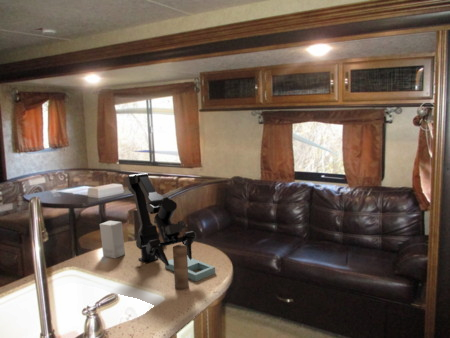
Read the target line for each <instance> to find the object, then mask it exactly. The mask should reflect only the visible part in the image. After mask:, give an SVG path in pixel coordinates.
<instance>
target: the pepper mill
mask: <svg viewBox="0 0 450 338" xmlns="http://www.w3.org/2000/svg"><path fill="white" fill-rule="evenodd" d="M187 256H188V255H187V246H186V245H184V244H176V245H173V246H172V259H173V261H174V271H173V277H174V278H173V279H174V288H175V290H180V291H182V290H183V291H184V290H186V289H189V286H190V285H189V283H190V282H189V281H190V280H189V278H188V262H187Z"/></svg>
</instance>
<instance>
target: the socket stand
mask: <svg viewBox="0 0 450 338" xmlns="http://www.w3.org/2000/svg"><path fill="white" fill-rule="evenodd" d="M167 260H168V259H167ZM187 262H188V280H191V281H194V282H196V283H197V282H198V281H201V280H203V279H205V278H208V277H210V276H212V275H215V274H216V267H215V266H214V265H211V264H208V263H206V262H203V261H201V260H198V259H196V258H193V257H192V259H191V260H190V259H189V257H188V255H187ZM168 263H169V266H167V265H166V264H165V263H164V268H166V269H168V270H170V271H172V272H174V261H173V258H172V259H169V260H168ZM196 270H199V271H197V272H195V271H196Z"/></svg>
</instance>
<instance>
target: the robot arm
mask: <svg viewBox="0 0 450 338" xmlns="http://www.w3.org/2000/svg"><path fill="white" fill-rule="evenodd" d="M125 184H126V186H127V187H128V191H129V192H130V193H131V194H132V195H133V198H134V199H133V200H134V203H135V208H136V212H137V218H138V221H139V229H138V232H137V235H138V236H137V238H136V241H135V244H136V247H137V248H138V249H139V250H140V251H141V252H140V254H141V257H138V260H139V261H141V262H143V263H144V264H147V263H151V262H153V261H154V262H155V261H156V260H160V261H161V262H163V264H164V265H165V264H166V265H167V266H169V263H168V258H167V256H166V254H165V250H164V247H167V246H170V245H171V246H172V245H175V244H176V245H177V244H180V243H182V245H186V246H187V256H188V257H189V259H190V260H191V259H192V258H193V255H192V252H193V251H192V244H193V243H194V241H195V240H196V239H197V234H196V232H195V231H193V230H191V231H186V232H184V233H183V236H180V235H181V232H183V230H185V229H186V223H185V221H184V220H179V221H178V222H177V223H173V221H172V220H171V219H172V218H173V216H174V214H175V212H176V211H177V208H178V206H177V203H176V202H175V200H173V199H170V198H169V197H168V196H166V197H164V195H162V194H160V193H158V192H157V190H156V188H155V187H154V185H153V183H152V182H151V180H150V177H149V174H148V173H147V172H142V173H134V174H128V175H127V177H125ZM150 214H151V215H155V216H154V221H153V223H154V224H153V223H152V222H151V216H150ZM155 225H157V227H158V230H159V234H158V232H157V228H156V226H155ZM159 236H161V237H162V240H163V241H161V242H160V239H159ZM179 236H180V237H179Z"/></svg>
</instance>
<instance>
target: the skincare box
mask: <svg viewBox="0 0 450 338" xmlns="http://www.w3.org/2000/svg"><path fill="white" fill-rule="evenodd" d="M123 229H124V228H123V222H122V221H116V220H107V221H105V222H102V223H99V233H100V238H101V239H100V240H101V247H102V254H103V255H102V256H103V257H106V258H110V259H115V260H116V259H118V258H120V257H122V256H124V255H126V250H125V249H126V248H125V240H124V231H123Z"/></svg>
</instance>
